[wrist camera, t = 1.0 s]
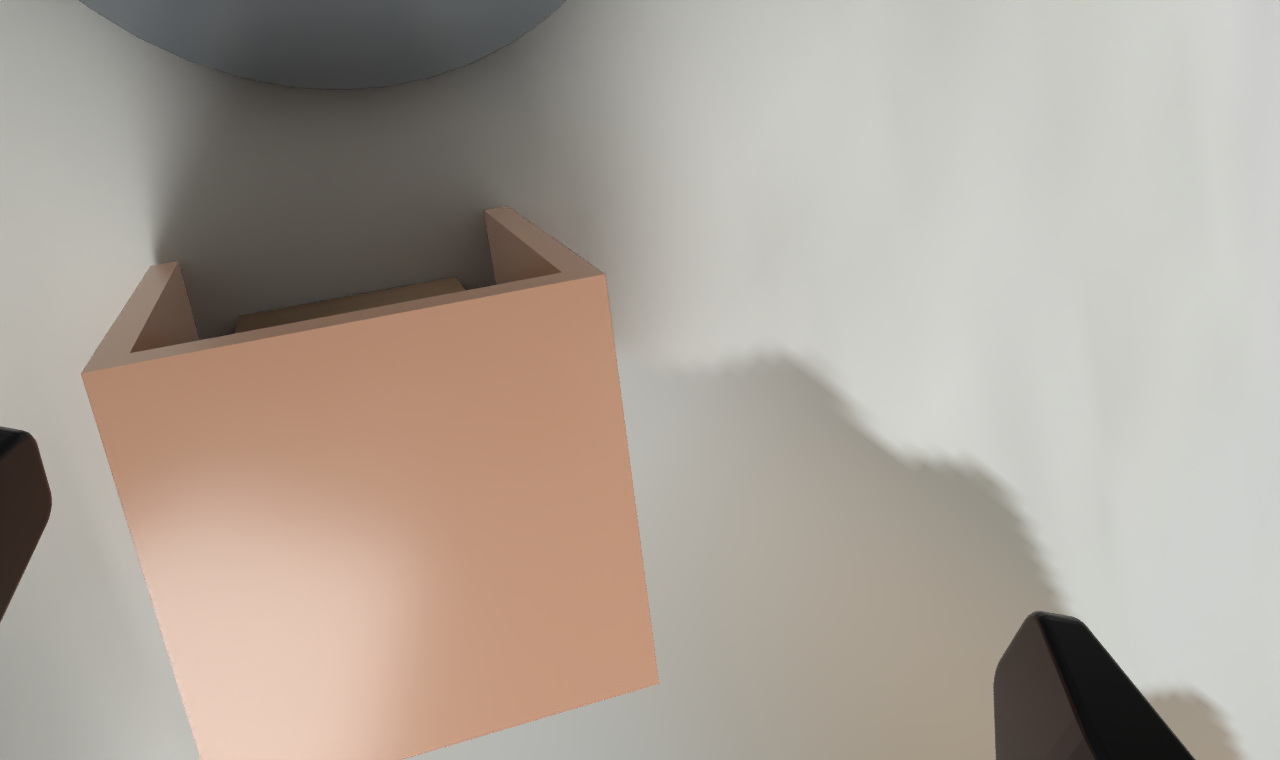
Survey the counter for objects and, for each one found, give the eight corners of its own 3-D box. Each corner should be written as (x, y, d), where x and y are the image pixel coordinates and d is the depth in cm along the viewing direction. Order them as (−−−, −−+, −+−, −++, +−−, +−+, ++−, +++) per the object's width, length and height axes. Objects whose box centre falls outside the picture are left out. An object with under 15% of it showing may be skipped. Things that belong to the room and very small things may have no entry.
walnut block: (287, 513, 23) (287, 629, 18) (238, 316, 21) (223, 387, 17) (490, 466, 24) (537, 565, 19) (455, 276, 22) (498, 333, 18)
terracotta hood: (238, 584, 23) (217, 814, 16) (150, 266, 20) (81, 373, 13) (555, 507, 24) (659, 683, 18) (507, 206, 22) (605, 273, 15)
